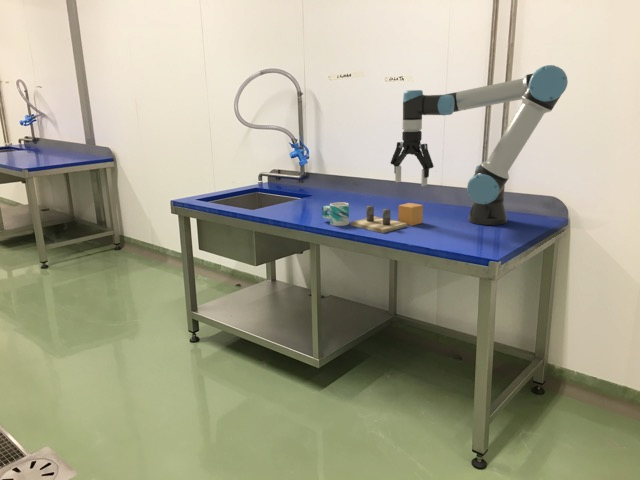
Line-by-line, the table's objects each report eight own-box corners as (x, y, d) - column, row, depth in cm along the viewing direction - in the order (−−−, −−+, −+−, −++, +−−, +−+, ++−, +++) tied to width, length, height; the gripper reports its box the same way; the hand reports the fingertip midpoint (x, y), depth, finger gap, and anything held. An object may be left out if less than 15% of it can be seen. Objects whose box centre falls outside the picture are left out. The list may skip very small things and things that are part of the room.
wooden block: (422, 222, 221) (422, 205, 219) (411, 225, 216) (411, 207, 214) (409, 220, 226) (409, 202, 224) (398, 223, 222) (398, 205, 220)
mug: (341, 226, 218) (341, 206, 216) (318, 223, 225) (317, 203, 223) (352, 222, 225) (352, 203, 222) (329, 219, 232) (329, 200, 229)
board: (406, 226, 215) (406, 208, 213) (382, 233, 207) (383, 214, 205) (374, 219, 228) (374, 202, 226) (350, 225, 220) (350, 207, 218)
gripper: (443, 131, 204) (441, 186, 210) (394, 128, 223) (393, 179, 228) (431, 132, 200) (429, 188, 205) (382, 130, 218) (381, 181, 224)
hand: (410, 183), depth 217 cm, fingers open, 13 cm apart
